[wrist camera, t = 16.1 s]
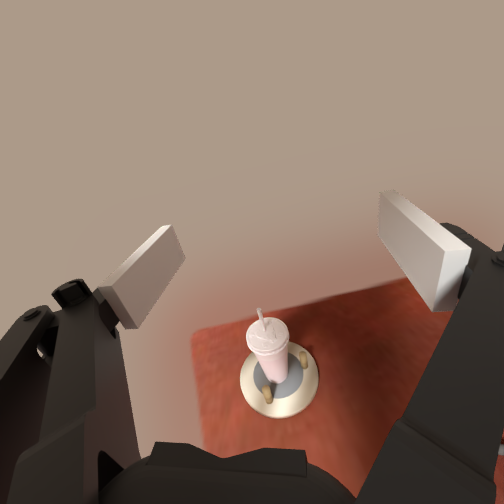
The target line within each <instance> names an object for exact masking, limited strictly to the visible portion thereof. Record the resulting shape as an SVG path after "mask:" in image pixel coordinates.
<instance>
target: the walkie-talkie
mask: <svg viewBox="0 0 504 504" xmlns="http://www.w3.org/2000/svg"><path fill="white" fill-rule="evenodd" d="M498 455H504V444H500V448H499V452H498Z"/></svg>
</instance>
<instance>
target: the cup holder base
mask: <svg viewBox="0 0 504 504" xmlns="http://www.w3.org/2000/svg"><path fill="white" fill-rule="evenodd" d="M287 350H288V376H287V378H286V379H285V380H284V381H283V382H281V383H272V382H270V381H269V380H268V379H267V377H266V375H265V373H264V371H263V369H262V367H261V365H260V363H259V361H258V360H257V358H256V356H255V354H254V352H252V353H251V354H250V355H249V356H248V357H247V359H246V360H245V362H244V364H243V367H242V369H241V374H240V384H241V389H242V392H243V395H244V397H245V399H246V401H247V402H248V404H249V405H250V406H251V407H252V408H253V409H254V410H255V411H256V412H258V413H259V414H261V415H263V416H266V417H269V418H275V419H283V418H289V417H292V416H295V415H297V414H299V413H300V412H302V411H303V410H305V409H306V408H307V407H308V406H309V405H310V403H311V402H312V401H313V399H314V397H315V395H316V392H317V389H318V383H319V378H318V370H317V366H316V363H315V361H314V359H313V357H312V356H311V355H310V354H309V352H308V351H307V350H305V349H304V348H303V347H301V346H300V345H298V344H295V343H293V342H289V341H288V343H287Z"/></svg>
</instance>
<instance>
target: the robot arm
mask: <svg viewBox="0 0 504 504" xmlns="http://www.w3.org/2000/svg"><path fill="white" fill-rule="evenodd" d="M377 235H378V237H379V238H380V240H381V241H382V242H383V244H384V245H385V247H386V248H387V249H388V251H389V252H390V254H391V255H392V256H393V258H394V259H395V260H396V262H397V263H398V264H399V266H400V268H401V269H402V270H403V271H404V273H405V275H406V276H407V277H408V279H409V280H410V282H411V283H412V284H413V286H414V287H415V289H416V290H417V291H418V293H419V294H420V296H421V297H422V298H423V300H424V301H425V303H426V304H427V305H428V307H429V308H430V310H431V311H432V312H440V311H454V312H453V314H452V316H451V318H450V320H449V322H448V324H447V326H446V328H445V330H444V332H443V334H442V336H441V338H440V341H439V343H438V345H437V347H436V349H435V351H434V353H433V355H432V357H431V359H430V361H429V363H428V365H427V367H426V369H425V371H424V373H423V375H422V377H421V379H420V381H419V383H418V386H417V388H416V390H415V392H414V394H413V396H412V398H411V400H410V402H409V404H408V406H407V408H406V410H405V412H404V414H403V416H402V417H401V419H397V421H396V422H395V424H394V425H393V427H392V429H391V431H390V432H389V434H388V436H387V438H386V440H385V442H384V444H383V446H382V448H381V450H380V452H379V454H378V456H377V458H376V460H375V462H374V464H373V466H372V468H371V470H370V472H369V474H368V476H367V478H366V480H365V482H364V484H363V486H362V488H361V490H360V492H359V494H358V496H357V498H355V497H354V496H353V495H352V493H351V492H350V491H349V490H348V489H347V488H346V487H345V486H344V485H343V484H342V483H340V482H339V481H338V480H337V479H336V478H334V477H333V476H332V475H330V474H329V473H328V472H326V471H324V470H322V469H321V468H319V467H317V466H315V465H312V464H310V463H308V461H307V457H306V452H305V450H295V449H277V448H262V449H258V450H254V451H251V452H247V453H243V454H239V455H236V456H232V457H228V458H220V457H217V456H215V455H213V454H211V453H208V452H206V451H204V450H202V449H200V448H197V447H195V446H193V445H191V444H186V443H169V442H155V445H154V447H153V450H152V452H151V455H150V456H147V457H145V458H143V459H141V457H140V453H139V449H138V443H137V437H136V431H135V425H134V419H133V413H132V407H131V402H130V396H129V390H128V384H127V378H126V372H125V366H124V360H123V354H122V349H121V342H120V337H119V332H118V330H117V329H116V327H115V326H116V325H117V324H118V322H119V321H120V322H121V324H122V325H123V327H124V328H125V329H138V328H139V327H140V325H141V324H142V322H143V321H144V319H145V318H146V316H147V315H148V313H149V312H150V311H151V309H152V307H153V306H154V304H155V303H156V302H157V300H158V299H159V297H160V296H161V294H162V293H163V291H164V290H165V288H166V287H167V285H168V284H169V282H170V281H171V279H172V277H173V276H174V275H175V273H176V272H177V270H178V269H179V267H180V266H181V264H182V263H183V261H184V260H185V256H184V254H183V251H182V248H181V247H180V244H179V241H178V239H177V236H176V234H175V231H174V229H173V226H172V225H167V226H161V227H160V228H159V229H158V230H157V231H156V232H155V233H154V234H153V235H152V236H151V237H150V238H149V239H148V240H147V241H146V242H145V243H144V244H142V246H140V247H139V248H138V249H137V250H136V251H135V252H134V253H133V254H132V255H131V256H130V257H129V258H128V259H127V260H126V261H125V262H124V263H122V264H121V265H120V266H119V267H118V268H117V269H116V270H115V271H114V272H113V273H112V274H111V275H110V276H109V277H108V278H107V279H106V280H104V281H103V282H102V283H101V284H100V285H99V286H98V288H97V289H96V290H95V291H94V292H93V293H92V292H91V291H90V289H89V288H88V286H87V285H86V284H85V282H84V280H83V279H75V280H72V281H69V282H67V283H65V284H63V285H61V286H60V287H58V288H57V289H55V290H54V291H53V293H52V296H53V297H54V299H55V300H56V301H57V302H58V304H59V305H60V306H61V307H62V310H60V311H56V312H52V311H51V309H50V308H49V307H48V306H47V305H42V306H38V307H36V308H32V309H30V310H28V311H27V312H25V313H24V314H23V315H22V316H20V318H18V319H17V320H16V321H15V323H14V324H13V325H12V327H11V328H10V329H9V330H8V332H7V333H6V334H5V335H4V337H3V338H2V339H1V340H0V504H495V499H496V485H495V483H494V481H493V480H494V471H495V466H496V461H497V457H498V452H499V448H500V443H501V438H502V434H503V429H504V245H503V248H502V251H501V252H495V251H493V250H492V249H490V248H489V247H488V246H486V245H485V244H483V243H482V242H480V241H479V240H477V239H474V237H473V236H472V235H470V234H467V232H466V231H464V230H463V229H461V228H460V227H458V226H455V225H452V224H449V223H440V224H438V223H437V222H436V221H434V220H433V219H432V218H431V217H429V216H428V215H427V214H425V213H424V212H423V211H421V210H420V209H419V208H417V207H416V206H415V205H413V204H412V203H411V202H409V201H408V200H407V199H406V198H404V197H403V196H402V195H400V194H399V193H398V192H396V191H395V190H390V191H384V192H379V212H378V232H377ZM458 299H459V302H458V304H457V301H458ZM456 305H457V306H456ZM37 348H38V349H39V351H40V352H42V354H43V356H42V358H41V357H40V356H39V354H38V352H37Z"/></svg>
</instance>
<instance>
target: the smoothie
mask: <svg viewBox="0 0 504 504" xmlns="http://www.w3.org/2000/svg"><path fill="white" fill-rule="evenodd" d="M257 312H258V315H259V320H257V321H256V322H254V323H253V324H252V325H251V326H250V327H249V329H248V330H247V333H246V340H247V344H248V347H249V348H250V350H251V351H253V352H254V354H255V356H256V358H257V360H258V361H259V363H260V365H261V367H262V369H263V371H264V373H265V375H266V377H267V379H268V380H269V381H270V382H272V383H281V382H283V381H284V380H285V379H286V378H287V376H288V350H287V343H288V341H289V332H288V329H287V326H286V324H285V323H284V322H283V321H281V320H279V319H277V318H272V317H267V318H263V316H262V312H261V309H260V308H258V309H257Z"/></svg>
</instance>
